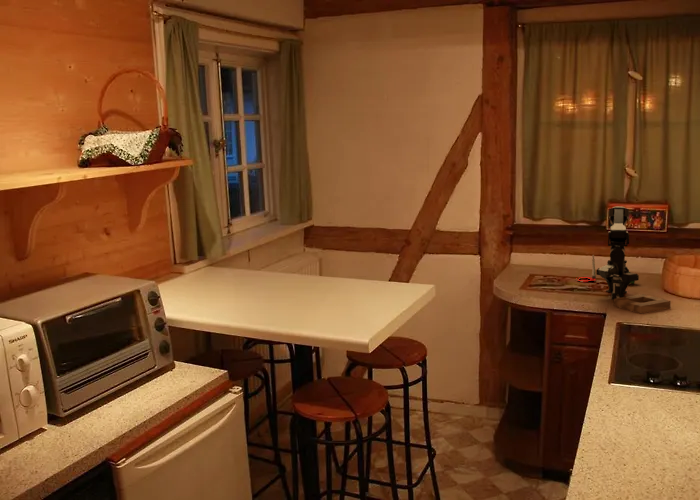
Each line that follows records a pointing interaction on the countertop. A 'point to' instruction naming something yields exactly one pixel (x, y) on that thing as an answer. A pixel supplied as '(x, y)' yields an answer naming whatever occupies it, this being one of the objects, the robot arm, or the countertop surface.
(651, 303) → the holder block
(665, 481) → the countertop surface
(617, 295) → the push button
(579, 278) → the red grey looped piece
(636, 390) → the countertop surface
